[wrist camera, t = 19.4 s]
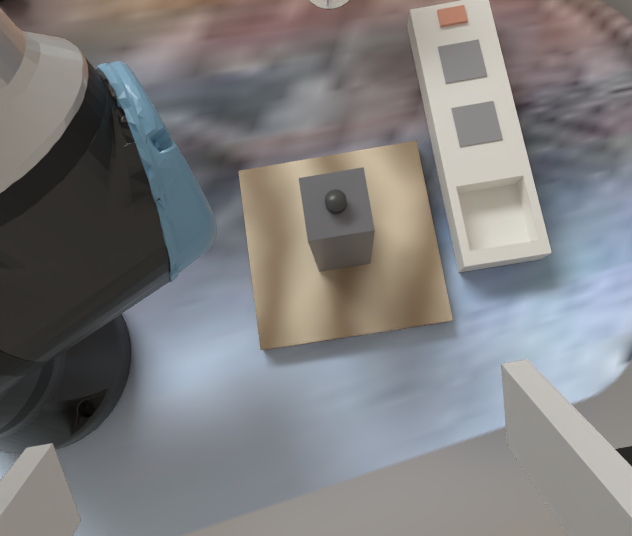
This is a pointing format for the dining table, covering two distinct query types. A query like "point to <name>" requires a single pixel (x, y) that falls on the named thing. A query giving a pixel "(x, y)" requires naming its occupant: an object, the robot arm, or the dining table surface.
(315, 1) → the wineglass
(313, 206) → the gray knobbed block
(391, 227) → the oak board
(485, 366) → the dining table surface
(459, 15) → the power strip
